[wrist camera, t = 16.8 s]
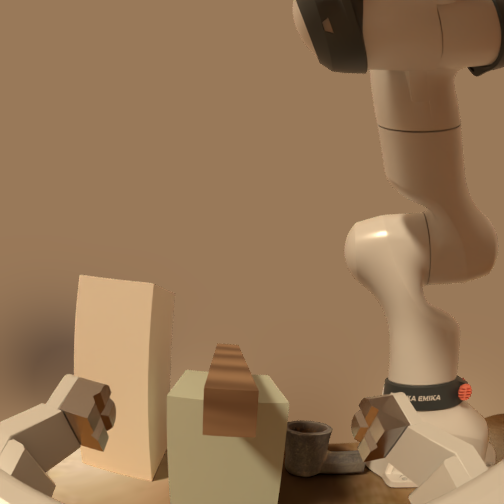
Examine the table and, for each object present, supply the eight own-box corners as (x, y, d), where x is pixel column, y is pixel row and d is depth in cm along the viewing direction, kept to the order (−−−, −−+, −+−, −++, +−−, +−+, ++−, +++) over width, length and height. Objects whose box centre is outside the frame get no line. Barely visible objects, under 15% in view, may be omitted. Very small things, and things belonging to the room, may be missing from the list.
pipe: (362, 484, 26) (373, 436, 27) (270, 477, 30) (275, 430, 32) (362, 465, 31) (370, 421, 33) (280, 459, 35) (285, 417, 37)
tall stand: (151, 481, 25) (153, 283, 31) (82, 462, 24) (79, 274, 30) (169, 441, 39) (175, 293, 44) (115, 430, 38) (118, 287, 44)
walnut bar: (255, 437, 14) (258, 390, 14) (202, 434, 13) (204, 387, 14) (237, 364, 39) (238, 344, 40) (216, 363, 39) (217, 343, 39)
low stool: (273, 531, 17) (289, 402, 21) (172, 526, 17) (166, 395, 20) (259, 479, 29) (268, 375, 33) (185, 475, 28) (186, 369, 32)
